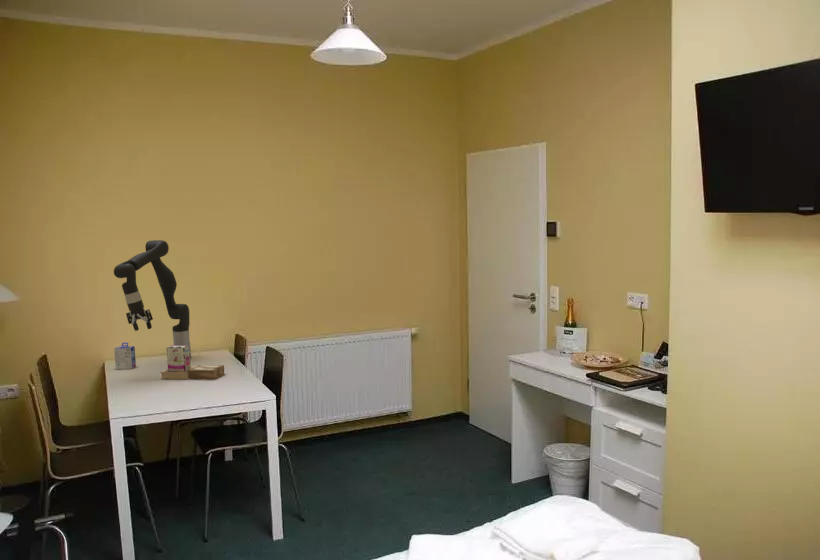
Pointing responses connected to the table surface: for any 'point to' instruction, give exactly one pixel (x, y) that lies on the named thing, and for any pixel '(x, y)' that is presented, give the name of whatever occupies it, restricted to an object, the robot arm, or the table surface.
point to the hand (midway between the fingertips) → (143, 329)
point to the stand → (206, 372)
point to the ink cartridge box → (125, 357)
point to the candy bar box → (178, 358)
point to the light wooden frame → (175, 374)
